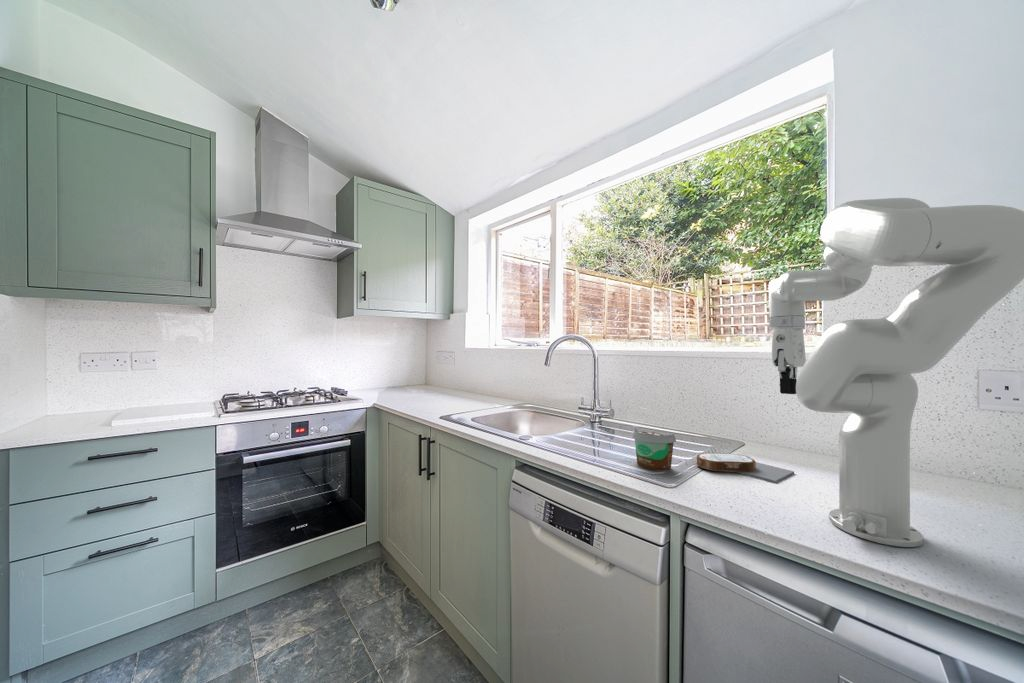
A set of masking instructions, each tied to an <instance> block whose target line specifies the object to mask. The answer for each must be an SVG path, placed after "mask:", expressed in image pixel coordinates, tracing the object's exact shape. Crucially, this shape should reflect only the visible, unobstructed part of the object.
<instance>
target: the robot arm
mask: <svg viewBox="0 0 1024 683" xmlns="http://www.w3.org/2000/svg"><path fill="white" fill-rule="evenodd" d="M820 238H821V241H822V243H823V245H824V246H825V248H824V250H823V259H824V262H825V264H826V265H827V266H828V268H829V269H807V270H806V269H805V270H802V269H801V270H791V271H786V272H784V273H783V274H781V275H780V276H779V277H777V278H774V279H773V278H772V280H770V281H769V283H768V310H769V311H768V316H769V317H768V318H769V322H768V323H769V331H772V335H771V336H772V338H771V360H772V365H773V366H775V367H777V371H778V372H779V392H780V394H783V395H796V396H797V399H798V402H800V403H801V405H803V406H804V407H806V409H809V410H811V411H815V412H819V413H827V414H828V413H830V414H831V413H832V414H848V416H847V417H846V419H845V420H844V421H843V423H842V425H841V426H840V430H839V436H838V480H839V482H838V492H839V494H838V496H839V497H838V498H839V500H838V503H839V506H838V508H835V509H832V510H830V511H829V512H828V518H829V519H828V520H829V521H830V522H831V523H832V524H833V525H834V526H835V527H837V528H839V529H840V530H842V531H844V532H846V533H848V534H851V535H853V536H855V537H858V538H861V539H864V540H866V541H870V542H875V543H877V544H882V545H887V546H892V547H898V548H899V547H900V548H916V547H920V546H922V545H923V544H924V535H923V534H922V533H921V532H920V531H919V530H918V529H917V528H915V527H913V526H911V478H910V477H911V472H910V471H911V470H910V468H911V466H910V463H911V460H910V458H911V430H912V428H911V427H912V421H913V416H914V413H915V409H916V405H917V401H918V396H919V386H918V383H917V381H916V379H915V378H914V376H913V375H914V374H920V373H924V372H926V371H927V372H928V371H929V370H931V369H932V368H934V367H935V366H936V365H937V364H938V363H940V362H941V361H942V360H943V359H944V357H946V356H947V355H948V353H949V352H950V351H951V350H952V349H953V348H954V347H955V346H956V345H957V344H958V343H959V342H960V341H961V340H962V339H963V337H964V336H966V334H967V333H968V332H969V331H970V330H971V329H972V328H973V327H974V326H975V324H976V323H977V322H978V321H980V319H981V318H982V317H983V316H984V315H985V314H986V313H987V312H988V311H990V310H991V308H993V307H995V305H996V304H998V303H999V302H1000V301H1001V300H1003V299H1004V298H1005V297H1006V296H1007V295H1008V294H1009V293H1011V292H1012V291H1013V290H1014V289H1015V288H1016V287H1017V286H1019V284H1020V283H1021V282H1022V281H1023V280H1024V210H1022V209H1018V208H1015V207H1011V206H1005V205H995V204H973V205H972V204H970V205H969V204H968V205H949V206H948V205H947V206H937V207H936V206H935V207H932V206H930V205H929V204H927V203H926V202H924V201H923V200H920V199H917V198H909V197H893V198H892V197H889V198H874V199H873V198H872V199H871V198H870V199H855V200H850V201H846V202H843V203H842V204H839V205H837V206H836V207H834V208H833V209H831V211H830V212H828V214H827V215H826V217H825V219H824V220H823V221H822V224H821V227H820ZM874 266H882V267H916V266H917V267H919V266H920V267H923V266H926V267H927V266H945V268H943V269H941V270H940V271H939V272H937V273H936V274H933V275H932V276H930V277H928V278H927V279H925V280H923V281H921V282H920V283H919V284H918V285H916V286H914V287H913V288H912V289H911V290H909V292H908V293H907V294H906V295H905V296H904V297H903V299H902V300H901V301H900V302H899V304H898V306H896V308H895V309H894V310H893V311H892V312H891V313H890V314H889V315H887V316H885V317H881V318H880V317H879V318H865V319H863V318H860V319H859V318H858V319H857V318H856V319H847V320H841V321H839V322H836V323H834V324H833V325H831V326H830V327H829V328H826V330H825V331H824V332H823V334H822V335H821V336H820V338H819V339H818V341H817V343H815V346H814V348H813V349H812V351H811V352H810V354H809V356H808V358H806V346H805V338H804V332H803V330H806V317H805V316H806V315H805V314H806V312H805V309H806V308H805V307H806V306H805V305H806V304H805V302H813V301H814V302H818V301H819V302H823V301H824V302H827V301H837V300H841V299H844V298H846V297H848V296H849V295H851V294H854V293H856V292H857V291H859V290H861V289H862V288H864V287H865V285H866V284H867V282H868V281H869V279H870V278H871V274H872V272H873V267H874ZM798 368H801V369H800V371H799V373H798V375H797V372H798Z"/></svg>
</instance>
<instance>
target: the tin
mask: <svg viewBox="0 0 1024 683" xmlns="http://www.w3.org/2000/svg"><path fill="white" fill-rule="evenodd" d="M755 462H756V460H755V459H753V458H752V457H750V456H747V455H743V454H739V453H724V452H722V453H721V452H701V453H698V454H697V455H696V466H698V467H699V468H702V469H705V470H709V471H715V472H733V473H737V472H753V471H755V470H756V463H755Z"/></svg>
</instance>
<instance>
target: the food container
mask: <svg viewBox="0 0 1024 683" xmlns="http://www.w3.org/2000/svg"><path fill="white" fill-rule="evenodd" d="M631 436H632V438H633V439H634V445H635V446H634V447H635V454H636V455H635V456H636V464H637V466H639V467H640V468H642V469H645V470H649V471H656V472H658V471H661V472H663V471H669V470H671V469H672V461H673V453H674V452H673V450H674V443H676V442H677V439H676V436H675V433H672V434H668V435H667V434H666V435H664V434H661V433H659V432H658V433H657V432H653V431H652V432H649V431H648V432H647V431H640V430H637V427H634V428H633V431H632V435H631Z"/></svg>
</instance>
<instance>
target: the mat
mask: <svg viewBox="0 0 1024 683" xmlns="http://www.w3.org/2000/svg"><path fill="white" fill-rule="evenodd" d="M755 463H756V470H755V471H753V472H736V473H737V474H740V475H744V476H747V475H748V476H749V477H751V478H754V479H759V480H762V481H766V482H769V483H772V484H777V483H779V482H780V481H782V480H785V479H786V478H788V476H789V477H791V476H792V474H793V475H795V471H793V470H790V469H785V468H783V467H782V468H781V467H778V466H774V465H769V464H765V463H762V462H758V461H757V462H756V461H755ZM790 475H791V476H790Z"/></svg>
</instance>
